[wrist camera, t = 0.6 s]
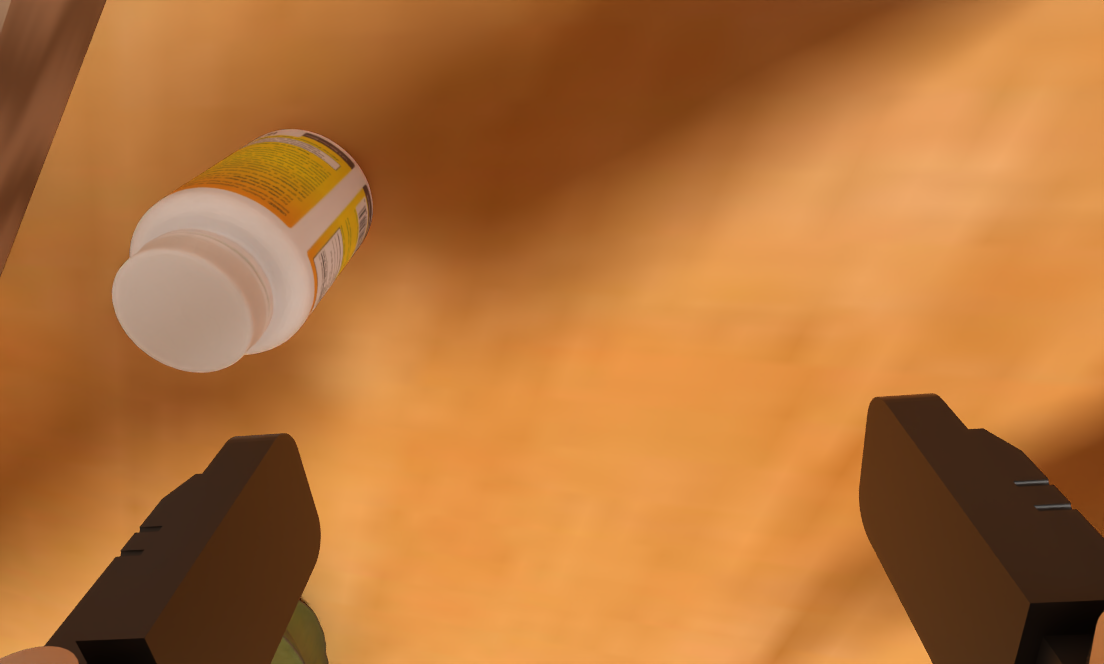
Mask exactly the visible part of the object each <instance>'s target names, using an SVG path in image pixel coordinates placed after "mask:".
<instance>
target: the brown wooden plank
mask: <svg viewBox="0 0 1104 664" xmlns="http://www.w3.org/2000/svg"><path fill="white" fill-rule="evenodd" d="M105 2H106V0H0V275H1V273H2V270H3V268H4V265H5V262H6V260H7V257H8V255H9V252H10V249H11V247H12V244H13V242H14V239H15V236H16V234H17V231H18V229H19V226H20V223H21V221H22V218H23V216H24V213H25V210H26V208H27V205H28V202H29V200H30V197H31V195H32V192H33V189H34V187H35V184H36V182H37V179H38V176H39V174H40V171H41V169H42V166H43V163H44V161H45V158H46V156H47V153H48V150H49V148H50V145H51V143H52V140H53V137H54V135H55V132H56V130H57V127H58V124H59V122H60V119H61V116H62V114H63V111H64V109H65V106H66V103H67V101H68V98H69V96H70V93H71V90H72V88H73V85H74V83H75V80H76V77H77V75H78V72H79V70H80V67H81V64H82V62H83V59H84V57H85V54H86V51H87V49H88V46H89V44H90V41H91V38H92V36H93V33H94V31H95V28H96V25H97V23H98V20H99V17H100V15H101V12H102V10H103V7H104V4H105Z"/></svg>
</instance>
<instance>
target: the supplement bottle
mask: <svg viewBox="0 0 1104 664" xmlns="http://www.w3.org/2000/svg"><path fill="white" fill-rule="evenodd" d="M372 215H373V201H372V195H371V190H370V187H369V184H368V181H367V179H366V177H365V175H364V173H363V171H362V170H361V168H360V167H359V165H358V164H357V162H356V161H355V160H354V159H353V158H352V157H351V156H350V155H349V154H348V153H347V152H346V151H345V150H344V149H343V148H341V147H340V146H339V145H338V144H336V143H335V142H333V141H331V140H330V139H328V138H326V137H324V136H322V135H319V134H317V133H314V132H310V131H306V130H299V129H283V130H277V131H273V132H270V133H267V134H265V135H262V136H260V137H258V138H256V139H255V140H253V141H252V142H250V143H248V144H247V145H245V146H244V147H242V148H241V149H239V150H238V151H236V152H234V153H233V154H231V155H230V156H228V157H226V158H225V159H223V160H222V161H220V162H218V163H217V164H216V165H214V166H212V167H211V168H209V169H208V170H206V171H205V172H203V173H202V174H200V175H198V176H197V177H195V178H194V179H192V180H191V181H189V182H188V183H186V184H185V185H183V186H181V187H180V188H178V189H177V190H175V191H174V192H172V193H170V194H169V195H167V196H166V197H164V198H163V199H161V200H160V201H158V202H157V203H156V204H154V205H153V206H152V207H151V208H150V209H149V210H148V211H147V212H146V213H145V214H144V215H143V217H142V218H141V219H140V221H139V222H138V224H137V226H136V229H135V231H134V233H133V236H132V240H131V245H130V258H129V259H128V260H127V261H126V262H125V263H124V264H123V265H122V266H121V267H120V269H119V270H118V272H117V274H116V276H115V279H114V282H113V287H112V301H113V306H114V310H115V313H116V316H117V318H118V320H119V322H120V324H121V326H122V328H123V329H124V331H125V332H126V334H127V335H128V337H129V338H130V339H131V340H132V341H133V342H134V343H135V344H136V345H137V346H138V347H139V348H140V349H141V350H142V351H144V352H145V353H146V354H148V355H149V356H151V357H152V358H154V359H155V360H157V361H159V362H161V363H163V364H165V365H167V366H170V367H173V368H176V369H179V370H183V371H188V372H198V373H203V372H213V371H219V370H221V369H224V368H227V367H229V366H231V365H233V364H234V363H236V362H237V361H238V360H240V359H241V358H242V357H243V356H244V355H249V354H256V353H261V352H264V351H268V350H271V349H273V348H275V347H277V346H279V345H281V344H282V343H284V342H286V341H287V340H288V339H290V338H291V337H292V336H293V335H294V334H295V333H296V332H297V331H298V330H299V329H300V328H301V326H302V325H303V324H304V322H305V321H306V320H307V318H308V317H309V315H310V314H311V313H312V311H313V310H314V309H315V307H316V306H317V304H318V303H319V302H320V300H321V299H322V297H323V296H324V295H325V293H326V292H327V291H328V289H329V288H330V286H331V285H332V284H333V282H334V281H335V280H336V278H337V277H338V276H339V274H340V273H341V271H342V270H343V268H344V267H345V266H346V264H347V263H348V261H349V260H350V259H351V257H352V256H353V255H354V253H355V252H356V251H357V249H358V248H359V246H360V245H361V244H362V242H363V240H364V239H365V237H366V235H367V233H368V231H369V228H370V225H371V221H372Z"/></svg>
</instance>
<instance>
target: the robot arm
mask: <svg viewBox="0 0 1104 664" xmlns="http://www.w3.org/2000/svg"><path fill="white" fill-rule="evenodd" d="M859 504H860V512H861V517H862V522H863V525H864V529H865V531H866V534H867V536H868V539H869V541H870V543H871V545H872V546H873V548H874V550H875V552H876V554H877V556H878V558H879V560H880V562H881V564H882V566H883V568H884V570H885V572H886V574H887V576H888V577H889V579H890V581H891V583H892V585H893V587H894V589H895V591H896V593H897V595H898V597H899V599H900V601H901V603H902V605H903V606H904V608H905V610H906V612H907V614H908V616H909V618H910V620H911V622H912V624H913V626H914V628H915V630H916V632H917V634H918V636H919V637H920V639H921V641H922V643H923V645H924V647H925V649H926V651H927V653H928V655H929V657H930V659H931V661H932V663H933V664H1104V538H1103V537H1102V536H1101V535H1100V534H1099V533H1098V532H1097V531H1096V529H1095V528H1094V527H1093V526H1092V525H1091V524H1090V523H1089V522H1088V521H1087V520H1086V519H1085V518H1084V517H1083V516H1082V515H1081V513H1080V512H1079V511H1078V510H1077V509H1075V510H1072V508H1071V503H1070V502H1069V501H1068V500H1067V499H1066V497H1065V496H1064V495H1063V494H1062V493H1061V492H1060V491H1059V490H1058V489H1057V488H1056V487H1055V486H1054V485H1049V482H1048V478H1047V477H1046V476H1045V475H1044V474H1043V473H1042V472H1041V471H1040V470H1039V469H1038V468H1037V467H1036V465H1035V464H1034V463H1033V462H1032V461H1031V460H1030V459H1029V458H1028V457H1027V456H1026V455H1025V454H1024V453H1023V452H1022V451H1021V450H1019V449H1018V448H1016V447H1014V446H1012V445H1011V444H1009V443H1007V442H1006V441H1004V440H1002V439H1000V438H999V437H997V436H995V435H994V434H992V433H990V432H988V431H987V430H985V429H983V428H981V429H967V427H966V426H965V425H964V424H963V423H962V422H961V420H960V419H959V418H958V417H957V416H956V415H955V413H954V412H953V411H952V410H951V409H950V408H949V407H948V405H947V404H946V403H945V402H944V401H943V400H942V399H941V398H940V397H939V396H938V395H936V394H933V393H932V394H916V395H901V396H885V397H875V398H874V399H873V400H872V401H871V403H870V405H869V409H868V414H867V423H866V432H865V441H864V450H863V459H862V468H861V477H860V486H859ZM320 539H321V531H320V522H319V517H318V514H317V510H316V507H315V504H314V501H313V497H312V494H311V491H310V487H309V484H308V481H307V477H306V474H305V471H304V468H303V464H302V461H301V458H300V454H299V451H298V448H297V445H296V443H295V441H294V439H293V438H292V437H291V436H290V435H289V434H285V433H283V434H267V435H251V436H236V437H232V438H231V439H229V440H228V441H227V442H226V443H225V445H224V446H223V447H222V449H221V450H220V451H219V453H218V454H217V455H216V457H215V458H214V459H213V461H212V462H211V463H210V465H209V466H208V467H207V468H206V470H205V471H204V472H203V474H195V475H194V476H192V477H191V478H190V479H188V480H187V481H186V482H184V483H183V484H182V485H180V486H179V487H178V488H176V489H175V490H174V491H172V492H171V493H170V494H168V495H167V496H166V497H164V498H163V499H162V500H161V501H160V502H159V504H158V505H157V506H156V507H155V509H154V510H153V511H152V512H151V514H150V515H149V516H148V517H147V519H146V520H145V521H144V522H143V524H142V525H141V526H140V532H139V533H135V534H134V535H133V536H132V537H131V539H130V540H129V541H128V542H127V544H126V545H125V546H124V547H123V549H122V550H121V556H120V557H115V558H114V560H113V561H112V562H111V563H110V565H109V566H108V567H107V568H106V570H105V571H104V572H103V573H102V575H101V576H100V577H99V578H98V580H97V581H96V582H95V583H94V585H93V586H92V587H91V588H90V590H89V591H88V592H87V593H86V595H85V596H84V597H83V598H82V600H81V601H80V602H79V603H78V605H77V606H76V607H75V608H74V610H73V611H72V612H71V613H70V615H69V616H68V617H67V618H66V620H65V621H64V622H63V623H62V625H61V626H60V627H59V628H58V630H57V631H56V632H55V633H54V635H53V636H52V637H51V638H50V640H49V641H48V642H47V643H46V645H45V646H44V647H35V648H30V649H26V650H22V651H19V652H16V653H13V654H10V655H8V656H5V657H3V658H1V659H0V664H271V662H272V660H273V657H274V655H275V653H276V651H277V648H278V646H279V644H280V642H281V640H282V637H283V635H284V633H285V631H286V628H287V626H288V624H289V622H290V620H291V617H292V615H293V613H294V611H295V609H296V606H297V604H298V602H299V600H300V597H301V595H302V593H303V591H304V589H305V586H306V584H307V582H308V580H309V577H310V575H311V573H312V571H313V569H314V566H315V564H316V561H317V558H318V554H319V549H320Z"/></svg>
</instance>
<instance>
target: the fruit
mask: <svg viewBox="0 0 1104 664" xmlns="http://www.w3.org/2000/svg"><path fill="white" fill-rule="evenodd" d="M271 664H328V658H327V655H326V642H325V637H324V633H323V630H322V628H321V625H320V623H319V621H318V618H317V616H316V615H315V613H314V612H313V610H312V609H311V608H310V607H309V606H307V605H306V604H305V603H303V602H302V601H300V600H299V602H298V604H297V606H296V609H295V611H294V613H293V615H292V617H291V620H290V622H289V624H288V626H287V628H286V631H285V633H284V635H283V637H282V640H281V642H280V644H279V646H278V648H277V651H276V653H275V655H274V657H273V660H272V662H271Z"/></svg>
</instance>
